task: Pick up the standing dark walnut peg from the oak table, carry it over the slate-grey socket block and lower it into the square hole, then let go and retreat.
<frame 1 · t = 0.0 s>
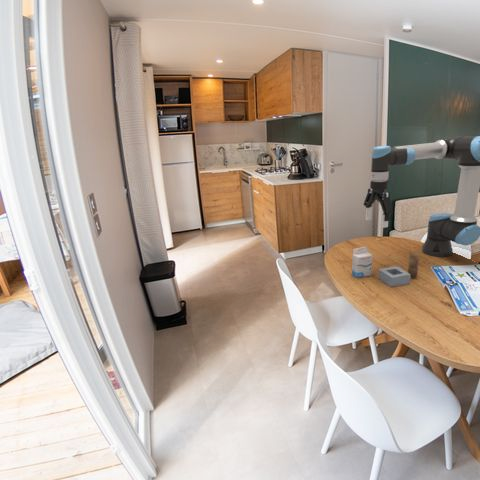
hand: (376, 223, 148), 28 cm above the table, fingers open, 13 cm apart
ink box: (361, 275, 158), on the table
socket: (393, 280, 149), on the table
peg: (412, 276, 152), on the table
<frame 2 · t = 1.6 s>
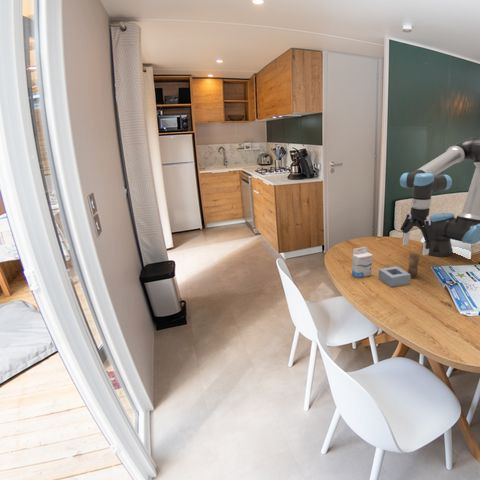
hand: (414, 249, 147), 15 cm above the table, fingers open, 13 cm apart
nothing on the table moved.
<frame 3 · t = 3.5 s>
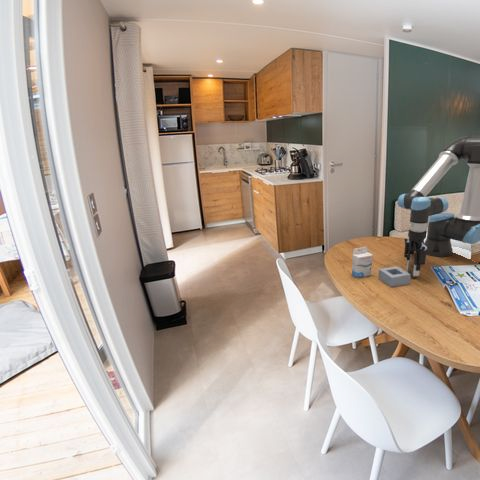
hand: (412, 273, 151), 2 cm above the table, fingers closed on peg, 4 cm apart
peg: (412, 276, 152), on the table, touching gripper
everything else where it was.
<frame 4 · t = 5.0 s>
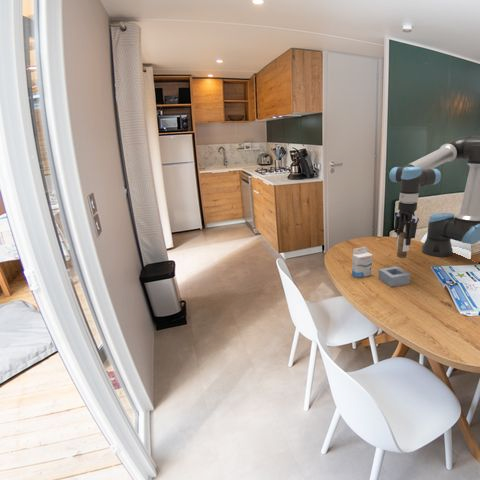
hand: (402, 249, 144), 16 cm above the table, fingers closed on peg, 4 cm apart
peg: (401, 256, 146), point 13 cm above the table, touching gripper
everything else where it was.
when the fingers open (6 cm above the table, at t = 6.8 s): peg stays where it is, resting on socket.
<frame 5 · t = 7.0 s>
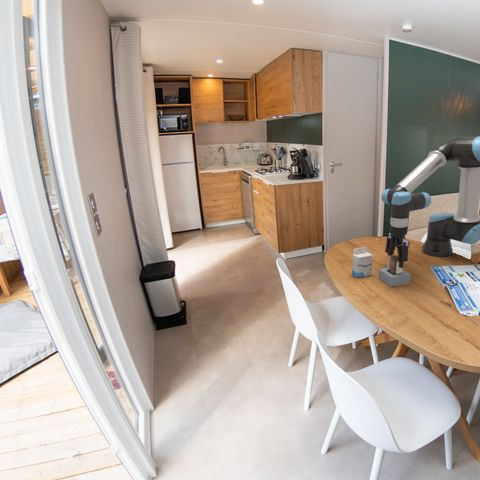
hand: (394, 270, 147), 6 cm above the table, fingers open, 6 cm apart
peg: (393, 279, 149), point 1 cm above the table, touching socket
everything else where it was.
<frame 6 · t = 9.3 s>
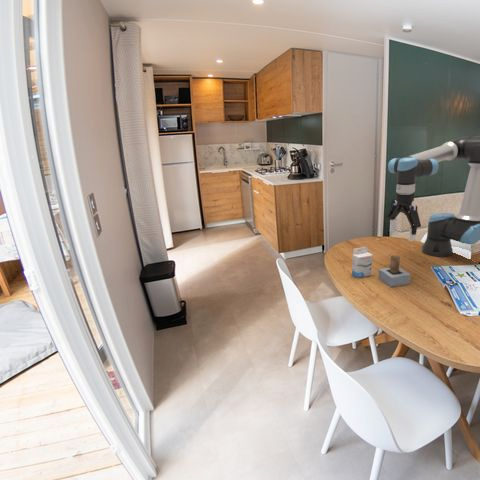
hand: (401, 236, 145), 22 cm above the table, fingers open, 13 cm apart
nothing on the table moved.
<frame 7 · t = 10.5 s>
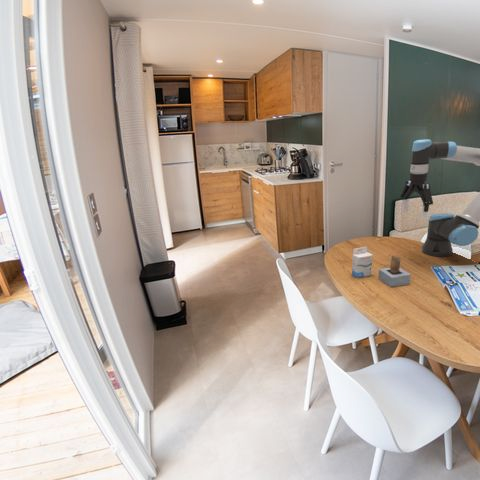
hand: (413, 214, 154), 29 cm above the table, fingers open, 13 cm apart
nothing on the table moved.
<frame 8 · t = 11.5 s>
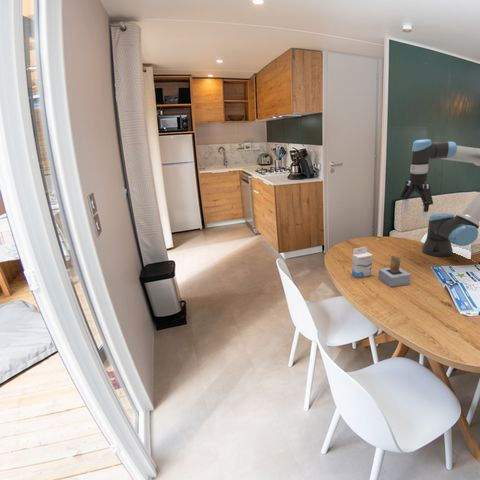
hand: (413, 214, 154), 29 cm above the table, fingers open, 13 cm apart
nothing on the table moved.
at the end: peg 0.0 cm off-centre on the socket, point 1.0 cm above the socket's base; peg tilted 1°; the gripper is holding nothing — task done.
